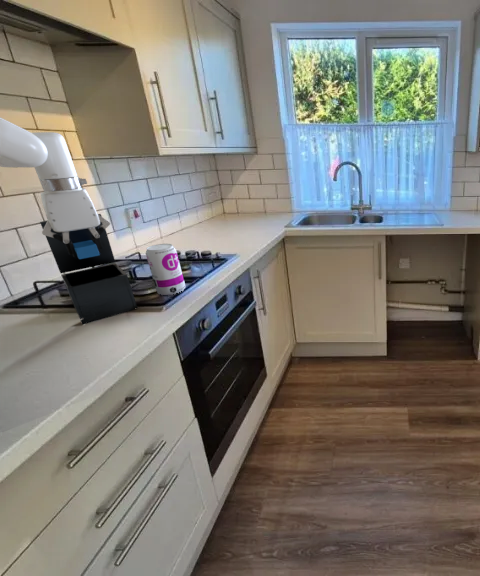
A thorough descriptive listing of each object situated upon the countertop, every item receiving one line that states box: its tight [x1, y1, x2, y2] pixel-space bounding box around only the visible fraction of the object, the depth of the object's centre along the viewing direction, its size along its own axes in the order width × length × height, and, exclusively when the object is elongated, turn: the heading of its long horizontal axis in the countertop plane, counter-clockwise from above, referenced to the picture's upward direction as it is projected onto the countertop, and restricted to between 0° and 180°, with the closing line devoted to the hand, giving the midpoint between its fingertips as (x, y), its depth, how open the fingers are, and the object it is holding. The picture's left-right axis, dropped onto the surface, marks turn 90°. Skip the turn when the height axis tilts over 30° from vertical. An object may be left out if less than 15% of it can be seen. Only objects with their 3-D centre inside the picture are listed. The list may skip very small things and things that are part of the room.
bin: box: [61, 262, 139, 326], centre depth 104 cm, size 15×13×11 cm
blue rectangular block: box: [73, 240, 100, 259], centre depth 98 cm, size 7×4×3 cm, turn 45°
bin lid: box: [39, 213, 116, 274], centre depth 104 cm, size 15×13×5 cm
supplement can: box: [145, 243, 187, 296], centre depth 114 cm, size 8×8×15 cm
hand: (87, 253), depth 98 cm, fingers closed on blue rectangular block, 4 cm apart
